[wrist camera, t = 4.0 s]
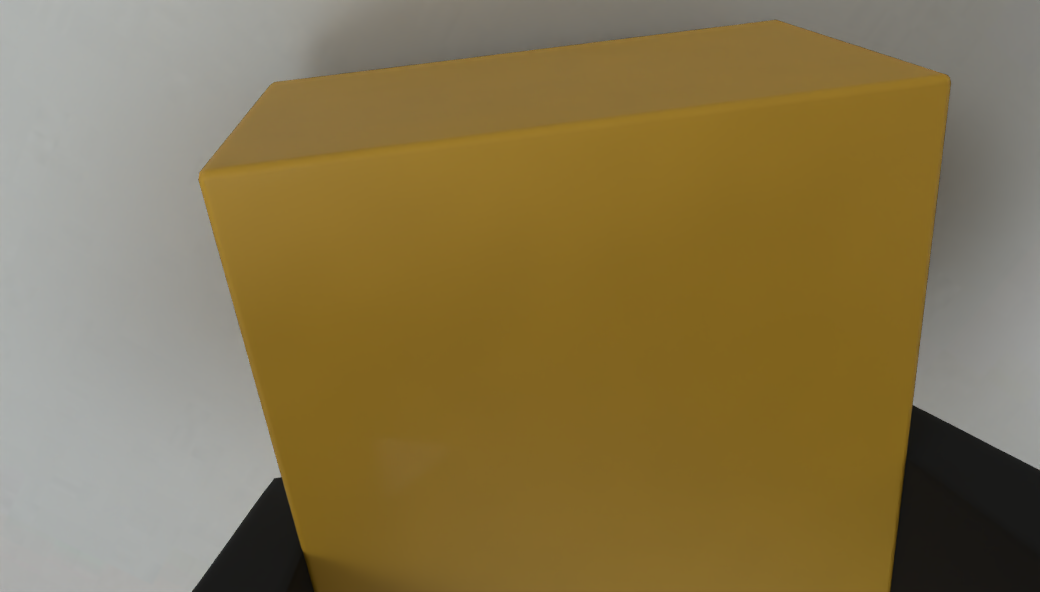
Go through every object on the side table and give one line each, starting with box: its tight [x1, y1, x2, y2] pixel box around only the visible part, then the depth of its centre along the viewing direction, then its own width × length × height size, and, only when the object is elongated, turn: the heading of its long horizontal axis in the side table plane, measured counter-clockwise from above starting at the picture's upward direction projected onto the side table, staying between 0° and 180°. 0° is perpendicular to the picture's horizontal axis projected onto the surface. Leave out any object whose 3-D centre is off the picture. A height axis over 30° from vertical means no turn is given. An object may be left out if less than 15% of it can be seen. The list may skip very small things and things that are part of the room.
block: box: [198, 20, 951, 592], centre depth 9 cm, size 9×5×3 cm, turn 6°
